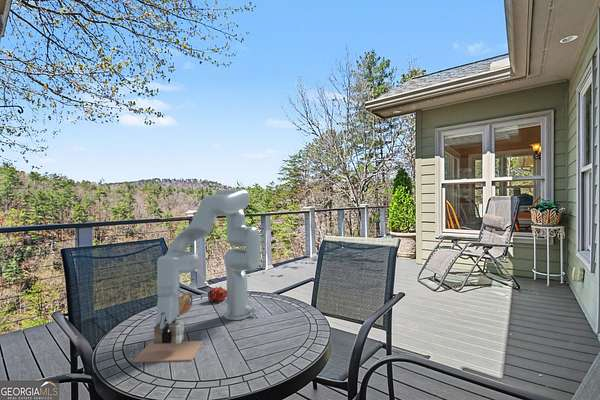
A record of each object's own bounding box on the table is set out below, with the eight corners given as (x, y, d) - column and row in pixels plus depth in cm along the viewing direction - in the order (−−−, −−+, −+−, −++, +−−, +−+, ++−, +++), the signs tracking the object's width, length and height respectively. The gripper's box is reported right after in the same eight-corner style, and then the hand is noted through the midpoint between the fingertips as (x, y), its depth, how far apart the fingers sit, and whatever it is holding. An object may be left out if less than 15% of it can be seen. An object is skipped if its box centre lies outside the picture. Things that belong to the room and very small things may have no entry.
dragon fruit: (205, 306, 168) (226, 304, 176) (212, 299, 164) (233, 298, 171) (203, 291, 173) (223, 290, 181) (209, 284, 168) (230, 283, 176)
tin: (175, 318, 148) (175, 300, 148) (169, 318, 149) (169, 300, 149) (193, 307, 163) (192, 290, 163) (187, 306, 164) (187, 290, 164)
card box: (158, 339, 118) (158, 322, 118) (183, 338, 118) (183, 322, 118) (154, 344, 114) (154, 327, 114) (179, 343, 114) (179, 326, 114)
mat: (202, 342, 124) (202, 340, 124) (191, 360, 110) (191, 359, 110) (150, 343, 123) (150, 342, 123) (132, 362, 109) (132, 361, 109)
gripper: (167, 283, 124) (167, 330, 124) (148, 296, 107) (148, 351, 108) (186, 283, 124) (187, 330, 124) (170, 296, 108) (171, 350, 108)
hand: (169, 339), depth 116 cm, fingers closed on card box, 4 cm apart
